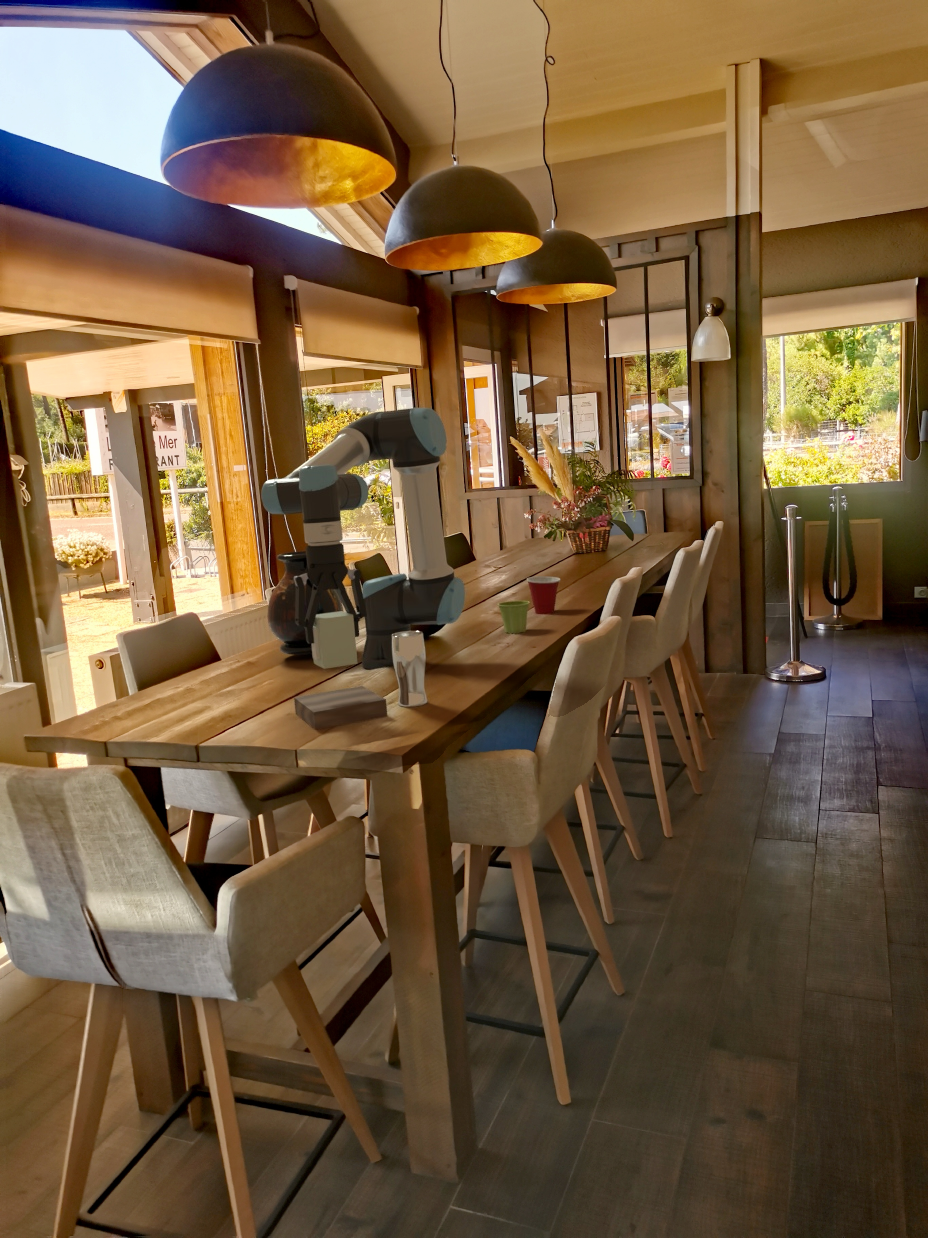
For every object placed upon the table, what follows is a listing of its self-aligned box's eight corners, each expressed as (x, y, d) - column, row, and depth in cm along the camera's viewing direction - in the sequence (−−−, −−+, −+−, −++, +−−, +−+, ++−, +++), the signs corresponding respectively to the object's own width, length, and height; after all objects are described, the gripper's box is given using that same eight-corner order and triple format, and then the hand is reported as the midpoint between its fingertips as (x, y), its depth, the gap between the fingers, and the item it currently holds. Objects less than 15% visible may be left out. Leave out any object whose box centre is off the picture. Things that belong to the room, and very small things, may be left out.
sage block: (313, 663, 191) (309, 615, 190) (346, 658, 194) (342, 611, 193) (324, 668, 185) (319, 619, 184) (357, 663, 188) (353, 614, 186)
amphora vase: (360, 648, 264) (351, 549, 260) (290, 661, 252) (279, 558, 248) (326, 639, 282) (317, 547, 277) (259, 652, 270) (248, 555, 266)
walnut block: (295, 715, 195) (293, 697, 195) (363, 703, 201) (362, 685, 201) (315, 732, 182) (313, 712, 181) (387, 718, 188) (385, 699, 187)
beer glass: (398, 700, 200) (392, 631, 198) (430, 698, 200) (424, 629, 198) (394, 708, 193) (388, 637, 191) (428, 706, 193) (422, 635, 191)
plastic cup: (550, 618, 291) (548, 580, 289) (522, 617, 298) (519, 579, 296) (568, 612, 300) (566, 575, 298) (540, 611, 306) (538, 575, 304)
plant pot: (501, 630, 277) (499, 601, 276) (532, 628, 276) (531, 599, 274) (497, 635, 268) (495, 606, 266) (530, 634, 266) (528, 604, 265)
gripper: (280, 549, 178) (291, 666, 182) (377, 539, 187) (387, 651, 190) (270, 547, 185) (282, 660, 189) (365, 538, 193) (374, 646, 197)
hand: (334, 655), depth 189 cm, fingers closed on sage block, 7 cm apart
